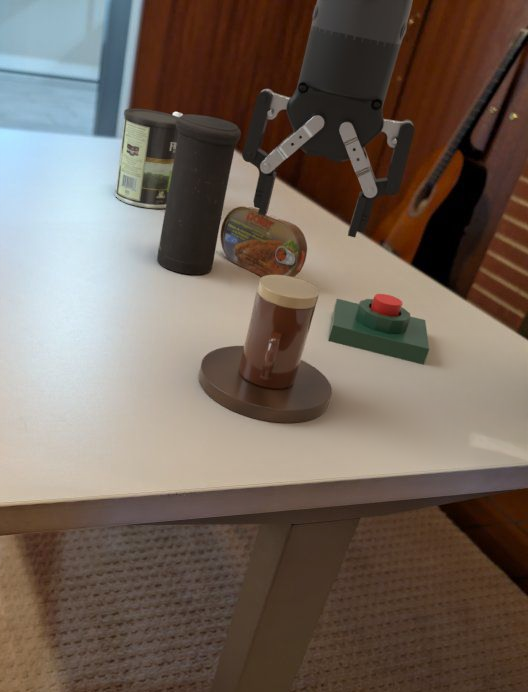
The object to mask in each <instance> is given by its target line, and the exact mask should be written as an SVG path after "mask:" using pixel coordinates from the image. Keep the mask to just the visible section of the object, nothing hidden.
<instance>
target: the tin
mask: <svg viewBox="0 0 528 692" xmlns="http://www.w3.org/2000/svg"><path fill="white" fill-rule="evenodd" d="M258 211H259V208H256V207H251V206H243V205H242V206H237V207H234V208H232V209H231V210H230V211H229V212H228V213H227V214H226V216H225V217H224V219H223V220H222V224H221V227H220V233H219V234H220V237H219V238H220V244H221V245H220V246H221V248H222V251H223V253H224V256H225V257H226V258H227V259H228V260H229V261H230V262H231V263H233V264H234V265H236V266H238V267H240V268H243V269H245V270H246V271H248V272H251V273H253V274H255V275H257V276H259V277H260V278H261V277H263V276H266V275H285V276H290V277H294V278H296V276H297V275H299V274H300V272H301V271H302V270H303V268H304V265H305V263H306V260H307V259H306V258H307V254H308V244H307V239H306V236H305V234H304V233H303V230H302V229H300V228H299V226H297V225H296V224H294V223H292V222H290V221H287V220H286V219H283V218H281V217H278V216H276V215H273V214H271V213H268V212H267V214H266V216H262V215H258Z"/></svg>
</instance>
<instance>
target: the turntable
mask: <svg viewBox="0 0 528 692" xmlns="http://www.w3.org/2000/svg"><path fill="white" fill-rule="evenodd" d="M243 349H244V345H229V346H224V347H219V348H216V349H214V350H211V351H210V352H208V353H207V354H206V355H205V356H204V357H203V358H202V360H201V363H200V367H199V368H200V369H199V371H198V380H199V384H200V387H201V388H202V390H203V391H204V393H206V395H208V396H209V397H210V398H211V399H212V400H213V401H215V402H216V403H218V404H219V405H221V406H222V407H224V408H226V409H227V410H230V411H232V412H235V413H237V414H240V415H242V416H245V417H248V418H251V419H252V418H253V419H255V420H260V421H265V422H270V423H279V424H280V423H281V424H296V423H303V422H307V421H308V422H309V421H311V420H315V419H316V418H319V417H321V416H322V414H324V413H325V412H326V410H327V409H328V406H329V403H330V400H331V397H332V393H333V392H332V386H331V383H330V381H329V380H328V378H327V377H326V375H324V374H323V373H322V372H321V371H320V370H319V369H318V368H316V367H315V366H313V365H311V364H310V363H308V362H307V361H305V360H302V359H301V361H300V365H299V368H298V372H297V375H296V379H295V382H294V384H293V385H292V386H290V387H287V388H282V389H273V388H266V387H262V386H259V385H256V384H254V383H252V382H250V381H248V380H246V379H245V378H244V377H243V376H242V375H241V374H240V371H239V367H240V362H241V358H242V354H243Z"/></svg>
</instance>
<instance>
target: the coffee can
mask: <svg viewBox="0 0 528 692" xmlns="http://www.w3.org/2000/svg"><path fill="white" fill-rule="evenodd" d="M123 116H124V118H123V126H122V135H121V142H120V143H121V144H120V152H119V161H118V171H117V179H116V188H115V193H114V197H115V198H116V197H117V198H118V199H117V198H116V199H117V200H118V201H120V200H121V202H122V203H125V204H126V205H127V204H128V205H130V206H134V207H139V208H145V209H152V210H153V209H154V210H159V209H166V203H167V197H168V191H169V185H170V180H171V174H172V169H173V163H174V157H175V151H176V145H177V139H178V133H179V132H178V131H177V128H176V120H177V118H179V117H177V116H174V115H173V114H170V113H166V112H163V111H158V110H151V109H144V108H127V109H124V110H123Z"/></svg>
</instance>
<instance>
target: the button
mask: <svg viewBox="0 0 528 692" xmlns="http://www.w3.org/2000/svg"><path fill="white" fill-rule="evenodd" d="M372 299H373V302H372V305H371V308H370V309H372V310H373V311H375V312H377V313H379V314H382V315H387V316H392V317H398V315H399V312H400V310H401V307H402V308H403V301H402V300H401V299H400V298H398V297H396V296H394V295H390V294H386V293H376V294H374V296H373V298H372Z"/></svg>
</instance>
